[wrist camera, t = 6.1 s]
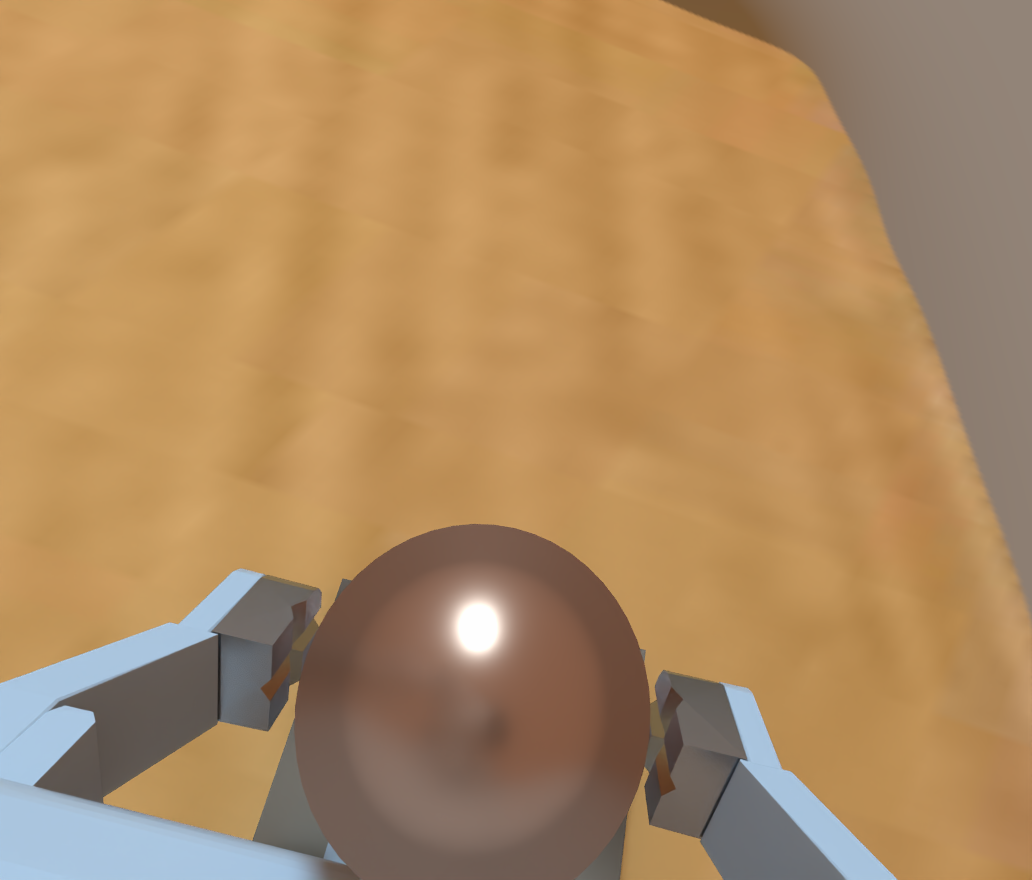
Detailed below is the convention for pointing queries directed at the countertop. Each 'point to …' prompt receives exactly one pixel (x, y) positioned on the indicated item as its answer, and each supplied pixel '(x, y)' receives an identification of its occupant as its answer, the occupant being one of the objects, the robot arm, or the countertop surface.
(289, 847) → the base
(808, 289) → the countertop surface
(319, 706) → the press handle
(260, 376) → the countertop surface
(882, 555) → the countertop surface
